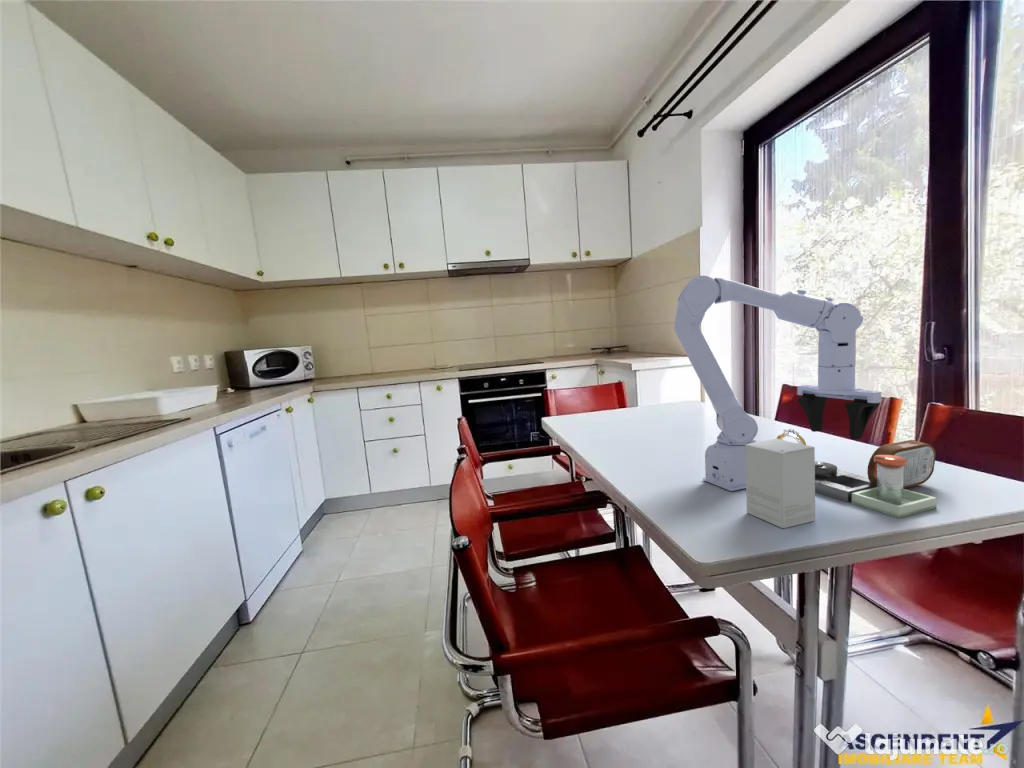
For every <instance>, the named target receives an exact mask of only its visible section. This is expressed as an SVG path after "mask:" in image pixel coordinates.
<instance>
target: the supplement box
mask: <svg viewBox="0 0 1024 768" xmlns="http://www.w3.org/2000/svg"><path fill="white" fill-rule="evenodd" d="M815 452H816V451H815V446H811V445H807V444H806V445H803V444H799V443H798V442H794V441H793V442H792V441H787V440H780V439H776V438H773V439H767V440H761V441H756V442H755V443H750V444H745V459H746V488H745V490H746V491H745V494H746V496H745V497H746V513H747V514H750V515H752V516H754V517H757V518H759V519H761V520H763V521H765V522H767V523H770V524H771V525H774V526H777V527H779V528H781V529H787V528H790V527H794V526H799V525H804V524H806V523H807V524H808V523H810V522H814V521H816V492H815V461H816V460H815V457H816V456H815V455H816V454H815Z"/></svg>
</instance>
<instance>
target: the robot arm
mask: <svg viewBox="0 0 1024 768" xmlns="http://www.w3.org/2000/svg"><path fill="white" fill-rule="evenodd" d="M676 301H677V302H676V309H675V310H676V311H675V315H674V321H673V322H674V323H673V330H674V333H675V335H676V337H677V339H678V341H679V343H680V345H681V347H682V348H683V351H684V352H685V354H686V357H687V359H688V360H689V362H690V364H691V365H692V367H693V369H694V371H695V374H696V376H697V377H698V379H699V381H700V383H701V385H702V387H703V389H704V391H705V393H706V394H707V396H708V398H709V400H710V402H711V404H712V408H713V409H714V411H715V414H716V417H715V418H716V419H715V422H716V425H717V427H718V429H719V430H721V431H720V432H719V434H718V436H716V441H715V442H714V443H713V444H710V445H708V447H707V448H706V449H705V452H704V453H705V454H704V462H705V463H704V464H705V465H704V467H705V468H704V469H705V477H704V476H703V477H702V480H703V481H705V482H707V483H709V484H712V485H714V486H717V487H720V488H722V489H724V490H727V491H729V492H734V491H738V490H739V491H740V490H743V489H746V459H745V444H750V443H755V442H757V439H756V436H757V435H758V431H759V427H758V423H757V422H756V420H755V418H753V417H752V416H751V415H749V414H748V413H747V412H746V411H745V410H744V407H743V406H742V404H741V403H740V401H739V400H738V398H737V396H736V395H735V394H734V391H733V390H732V387H731V386H730V384H729V382H728V380H727V378H726V376H725V374H724V372H723V371H722V369H721V367H720V365H719V363H718V361H717V359H716V357H715V356H714V354H713V351H712V349H711V348H710V346H709V344H708V341H707V340H706V338H705V336H704V334H703V332H702V330H701V327H700V326H701V324H702V322H703V320H704V317H705V314H706V312H707V311H708V310H709V309H710V308H711V307H712V305H713V304H715V305H716V304H717V305H718V304H721V303H726V302H727V303H728V302H737V303H740V304H744V305H750V306H753V307H756V308H757V307H758V308H762V309H766V310H770V311H772V312H774V314H775V316H776V317H777V319H778V320H781V321H785V322H788V323H792V324H795V325H800V326H804V327H806V328H810V329H815V330H817V332H818V344H817V345H818V346H817V348H818V349H817V350H818V352H817V353H818V354H817V355H818V357H817V359H818V360H817V361H818V363H817V385H812V384H811V385H808V384H802V385H797V395H798V396H801V397H797V402H798V404H799V405H800V406H801V408H802V409H803V412H804V413H805V416H806V417H807V418H806V419H807V421H808V425H809V428H810V430H811V432H813V433H816V432H821V431H822V430H823V425H824V412H825V407H826V404H827V403H826V402H827V400H828V399H830V398H832V399H840V400H846V401H847V400H848V401H849V402H844V406H845V409H846V412H847V415H848V424H849V425H848V426H849V437H850V440H860V439H863V436H864V433H865V429H866V427H867V424H869V423H868V422H869V421H870V418H871V417H872V416H873V414H874V413H875V412H876V410H877V409H878V408H879V405H880V403H881V402H882V391H878V390H877V391H876V390H870V389H863V388H857V387H856V356H857V341H856V339H857V335H856V333H857V330H858V329H859V328H860V327H861V326H862V325H863V321H864V316H863V315H862V314H861V311H860V310H859V308H858V307H857V306H856V305H854V304H852V303H849V302H840V303H834V298H832V297H825V298H821V297H817V296H813V295H809V294H807V291H806V289H805V290H804V289H797V290H796V291H795V290H794V291H793V290H790V291H787V292H785V293H783V294H778V293H775V292H772V291H768V290H765V289H762V288H758V287H755V286H751V285H748V284H746V283H745V284H744V283H742V282H739V281H735V280H730V279H726V278H722V277H715V278H713V277H711V276H708V275H698V276H695V277H693V278H692V279H691V280H689V281H688V282H687V284H685V286H684V287H683V289H682V291H681V293H680V294H679V296H678V299H677V300H676Z"/></svg>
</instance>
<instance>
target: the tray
mask: <svg viewBox="0 0 1024 768" xmlns="http://www.w3.org/2000/svg"><path fill="white" fill-rule="evenodd" d="M937 501H938V498H937V497H935V496H932V495H929V494H925V493H921V492H916V491H913V490H909V489H907V488H903V504H902V505H894V504H891V503H887V502H884V501H881V500H877V487H875V488H871V489H867V490H863V491H859V492H855V493H852V502H851V504H854V505H857V506H860V507H863V508H867V509H870V510H873V511H876V512H878V513H882V514H886V515H888V516H890V517H894V518H898V519H901V518H905V517H908V516H913V515H916V514H919V513H923V512H927V511H931V510H934V509H937V506H938V504H937V503H938V502H937Z"/></svg>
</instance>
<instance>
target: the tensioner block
mask: <svg viewBox="0 0 1024 768" xmlns="http://www.w3.org/2000/svg"><path fill="white" fill-rule="evenodd" d="M875 487H877V484H876V483H872V482H870V481H869V479H868V476H863V475H859V474H856V473H855V474H854V473H851V472H849V471H848V472H847V471H843V470H840V469H838V466H837V465H835V464H833V463H829V462H826V461H825V462H824V461H816V460H815V493H817V494H821V495H825V496H826V497H830V498H833V499H837V500H840V501H842V502H845V503H852V493H855V492H859V491H863V490H867V489H871V488H875Z"/></svg>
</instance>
